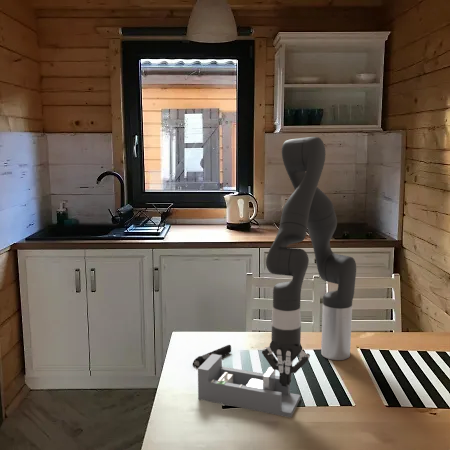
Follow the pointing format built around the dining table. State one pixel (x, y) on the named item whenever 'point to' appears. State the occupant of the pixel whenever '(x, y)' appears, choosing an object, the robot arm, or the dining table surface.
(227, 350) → the electric trimmer
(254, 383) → the notched taupe block
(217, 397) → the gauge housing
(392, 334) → the dining table surface
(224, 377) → the drag pointer
